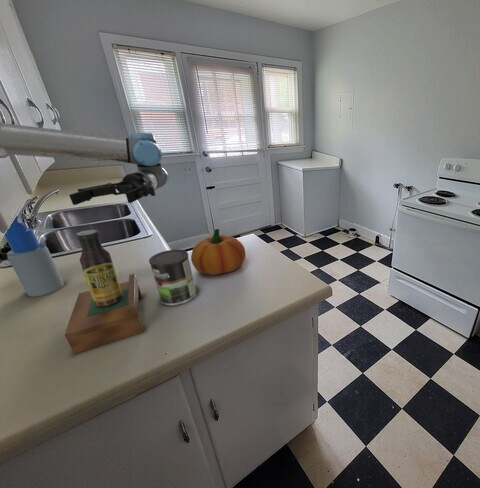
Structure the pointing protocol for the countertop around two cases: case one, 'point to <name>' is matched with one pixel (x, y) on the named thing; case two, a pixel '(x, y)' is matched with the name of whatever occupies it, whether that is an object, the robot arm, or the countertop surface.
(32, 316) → the countertop surface
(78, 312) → the brown wooden box
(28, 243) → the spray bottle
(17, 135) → the robot arm
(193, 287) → the large food can
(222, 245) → the pumpkin
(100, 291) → the sauce bottle
